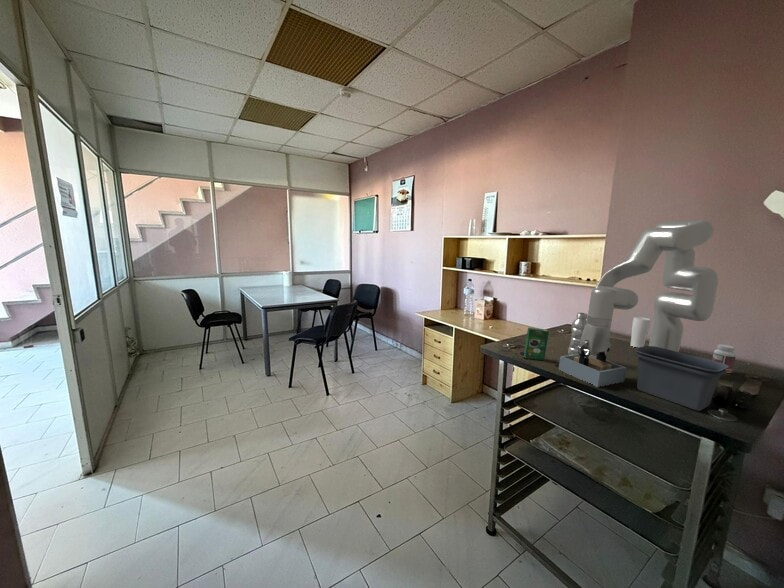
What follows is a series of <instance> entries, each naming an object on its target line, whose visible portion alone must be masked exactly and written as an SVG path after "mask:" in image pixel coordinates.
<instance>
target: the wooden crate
mask: <svg viewBox="0 0 784 588" xmlns="http://www.w3.org/2000/svg"><path fill="white" fill-rule="evenodd" d="M579 358H580V356H579V357H574V360H573V361H575V362H578V363H579ZM588 359H589V362H588V367H590V368H593V369H595V370H598V371H603V370H609V369H612V365H611V364H608V363H606V362H603V361H600V360H597V359H595V358H592V357H588Z"/></svg>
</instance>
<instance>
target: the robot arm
mask: <svg viewBox="0 0 784 588" xmlns="http://www.w3.org/2000/svg"><path fill="white" fill-rule="evenodd" d="M714 231H715V230H714V226H713V224H712V223H711V222H710V221H709V220H706V219H705V220H704V219H697V220H670V221H669V220H668V221H662V222H659V223H657V224H656V225H655V227H649V228H647V229H645V230H643V232H642V233H641V234H640V236H639V237H638V238H637V239H638V240H636V242H635V244H634V245H633V247H632V249H631V250H630V252H629V254H628V255H627V257H626V259H625V260H624V261H623V262H620V263H619V264H617V265H615V266H614V267H612V268H611V269H609V270H608V271H606V272H605V273H604V274H603V275H602V276H601V277H600V279H599V281H598V282H597V284H596V286H595V288H594V287H593V289H592V290H591V292H590V299H589V305H588V311H587V312H588V313H587V319H586V320H587V323H586V325H585V327H584V330H583V333H582V337H581V341H580V345H579V346H578V347H577V348H578V353H579V356H580V358H579V363H580V364H583V365H585V366H588V362H589V359H588V357H589V355H592V354H596V357H597V358H596V359H597V360H600V361H603V362H606V360H607V356H608V355H609V351H610V349H611V346H612V342H610V340H611V339H610V338H611V327H612V321H613V316H614V309H617V310H621V311H628V310H631V309H634V308H635V307H636V306H637V304H638V303H639V296H638V295H637V293H636V292H635V291H634V290H631V289H628V288H621V287H615V285H617V283H619V282H621V281H622V280H626V279H627V278H631V277H635V276H639V275H643V274H646V273H649V272H651V270H652V269H653V267H654V266H655V264H656V262H657V260H658V259H659V257H660V256H661V254H662V253H663V252H665V260H664V265H663V273H662V284H663V286H664V287H666V288H668V289H673V290H679V291H686V292H692V293H693V294H688V293H684V292H683V293H682V292H681V293H680V292H675V291H664V292H660V293H659V294H657V295H656V296H655V298H654V301H653V313H654V314H653V315H654V316H653V323H652V328H651V332H650V338H649V342H648V343H649V344H648V346H654V347H660V348H664V349H668V350H672V351H676V352H680V348H681V344H682V338H683V335H684V324H683V321H682V320H681V319H685V320H689V321H690V320H691V321H694V322H705V321H707V320H708V319H710V318H711V316H712V313H713V311H714V307H715V306H714V305H715V302H716V297H717V292H718V291H717V290H718V285H719V276H718V274H717V272H716V271H715V270H714V268H713V269H712V268H710V267H705V266H704V267H703V266H696V265H695V259H696V252H695V251H696V250H695V249H694V248H696V247H698V246H702V245H704V244H705V243H707V242H708V241H709V240H711V238H712V237H713V234H714ZM585 353H587V354H585Z"/></svg>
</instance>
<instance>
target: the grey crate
mask: <svg viewBox="0 0 784 588" xmlns="http://www.w3.org/2000/svg"><path fill="white" fill-rule="evenodd" d="M585 354H587V352H585ZM574 357H579V354H574V355H568V354H567V355H560V357H559V364H558V369H559V370H558V371H560V370H561V372H562V371H563V372H562V373H564V374H568V375H570V376H571V375H572V377H574V378H576V379H578V380H580V381H582V380H583V381H582V382H585V381H586V382H585V383H587V382H588V383H587V384H589V383H591V384H593V385H592V386H594V387H596V388H601V387H605V385H606V386H610V384H611V385H614V384H615V383H616V384H619V383H620V382H621V383H624V382H625V380H626V374H627V373H626V372H627V367H626V366H623V365H620V364H618V363H615V362H613V361H609V360H607V359H606V363H608V364H611V365H612V369H609V370H603V371H598V370H595V369H593V368H590V367H588V366H585V365H583V364H580V363H578V362H575V361H573V360H574ZM589 357H592V358H595V359H596V358H597V355H596V356H595V355H594V354H590V355H589ZM591 384H590V385H591ZM616 384H615V385H616ZM600 386H601V387H600Z"/></svg>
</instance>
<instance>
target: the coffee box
mask: <svg viewBox="0 0 784 588" xmlns="http://www.w3.org/2000/svg"><path fill="white" fill-rule="evenodd" d="M525 338H526V339H525V344H524V345H525V346H524V350H523V358H524V357H525V358H524V359H529V360H537V361H545V357H546V352H547V347H548V346H547V345H548V339H549V330H548V329H544V328H535V327H527V332H526V337H525Z"/></svg>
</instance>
